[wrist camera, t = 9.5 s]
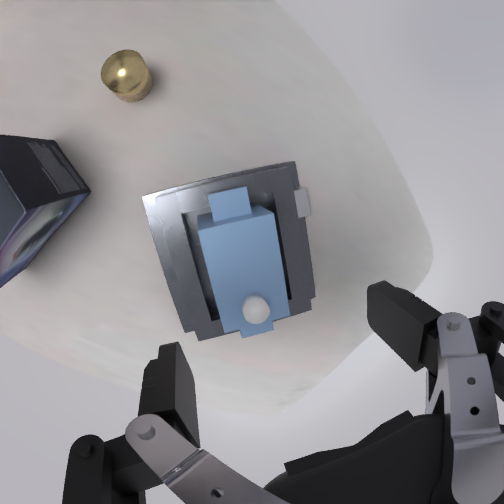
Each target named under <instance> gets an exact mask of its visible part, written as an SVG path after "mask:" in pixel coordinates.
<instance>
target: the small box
mask: <svg viewBox="0 0 504 504" xmlns="http://www.w3.org/2000/svg"><path fill="white" fill-rule="evenodd" d="M90 192H91V191H90V189H89V188H88V187H87V185H86V184H85V183H84V181H83V180H82V178H81V177H80V176H79V174H78V173H77V172H76V170H75V169H74V167H73V166H72V165H71V163H70V162H69V161H68V159H67V158H66V156H65V155H64V154H63V152H62V151H61V149H60V148H59V146H58V145H57V143H56V142H55V141H54V140H46V139H38V138H30V137H20V136H11V135H7V136H6V135H0V288H1V287H2V286H3V285H5V284H6V283H7V282H8V281H10V280H11V279H12V278H14V277H15V276H16V275H17V274H19V273H20V272H21V271H23V270H24V269H25V268H26V267H27V266H28V264H29V263H30V262H31V260H32V259H33V258H34V256H35V255H36V254H37V253H38V251H39V250H40V249H41V248H42V246H43V245H44V244H45V243H46V242H47V240H48V239H49V238H50V237H51V236H52V234H53V233H54V232H55V231H56V230H57V229H58V227H59V226H60V225H61V224H62V223H63V222H64V221H65V220H66V218H67V217H68V216H69V215H70V214H71V213H72V212H73V211H74V210H75V209H76V208H77V207H78V205H79V204H80V203H81V202H82V201H83V200H84V199H85V198H86V197H87V196H88V195H89V194H90Z"/></svg>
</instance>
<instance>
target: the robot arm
mask: <svg viewBox="0 0 504 504" xmlns="http://www.w3.org/2000/svg"><path fill="white" fill-rule="evenodd" d="M367 319H368V323H369V325H370V327H371V328H372V330H373V331H374V332H375V333H377V334H378V336H380V337H381V338H382V339H383V340H384V341H385V342H386V343H387V344H388V345H389V346H390V347H391V348H392V349H393V350H394V351H395V352H396V353H397V354H398V355H399V356H400V357H401V358H402V359H403V360H404V361H405V362H406V363H407V364H408V365H409V366H410V367H411V368H412V369H413V370H414V371H415V372H416V371H418V370H420V369H421V368H423V367H426V368H427V372H426V409H425V414H423V415H418V416H414V417H413V416H412V414H411V413H410V412H409V411H408V410H407V411H405V412H403V413H402V414H400V415H398V416H396V417H394V418H392V419H391V420H389V421H387V422H385V423H383V424H381V425H380V426H379V427H378V428H376V429H375V430H374V431H373V432H371V433H370V434H369V435H367V436H366V437H365V438H364V439H362V440H361V441H360V442H359V443H357V444H355V445H353V446H349V447H344V448H339V449H334V450H328V451H321V452H316V453H314V454H311V455H308V456H305V457H302V458H299V459H296V460H293V461H290V462H287V463H284V466H285V469H286V472H284V473H282V474H280V475H279V476H277V477H276V478H274V479H273V480H272V481H270V482H269V483H268V484H267V485H266V486H265V487H264V488H261V487H259V486H258V485H256V484H254V483H253V482H251V481H250V480H248V479H247V478H245V477H243V476H242V475H240V474H239V473H237V472H236V471H234V470H232V469H231V468H230V467H228V466H227V465H225V464H224V463H222V462H221V461H220V460H218V459H217V458H216V457H214V456H213V455H211V454H210V453H209V452H207V451H205V450H203V449H202V450H201V451H200V450H199V449H198V448H200V439H199V429H198V419H197V407H196V394H195V382H194V378H193V374H192V371H191V369H190V367H189V364H188V362H187V360H186V358H185V355H184V353H183V351H182V348H181V346H180V344H179V342H174V343H169V344H165V345H160V346H159V353H158V359H154V360H150V362H149V363H148V365H147V366H146V368H145V369H144V375H143V382H142V389H141V396H140V403H139V411H138V417H137V418H135V419H134V420H132V421H131V422H130V423H129V425H128V426H127V428H126V431H125V434H124V435H122V436H120V437H117V438H115V439H112V440H109V441H106V442H103V440H102V439H101V438H99V437H98V436H96V435H85V436H82V437H80V438H78V439H77V440H76V441H75V442H74V443H73V445H72V446H71V449H70V453H69V458H68V465H67V470H66V477H65V484H64V491H63V500H62V504H146V498H145V490H146V489H150V488H152V487H155V486H158V485H160V484H163V483H165V485H167V486H168V488H169V489H171V490H172V491H173V492H174V493H175V494H176V495H177V496H178V497H179V498H180V499H181V500H182V501H183V502H184V503H185V504H504V425H501V424H499V418H498V410H497V403H496V397H495V394H496V395H497V396H498V397H499V398H500V399H501V400H502V401H503V402H504V357H503V356H502V355H501V354H500V353H498V351H499V348H500V345H501V342H502V343H503V344H504V304H502V303H500V302H495V301H491V302H487V303H485V304H484V305H483V306H482V309H481V314H480V316H476V317H473V318H469V319H468V318H467V317H466V316H464V315H462V314H460V313H455V312H454V313H453V312H450V313H445V314H442V313H440V312H439V311H437V310H436V309H434V308H433V307H431V306H430V305H428V304H427V303H426V302H424V301H422V300H421V299H419V298H418V297H415V295H414V294H412V293H411V292H409V291H408V290H405V289H401V288H398V287H394V286H393V285H391V284H390V283H388V282H387V281H385V280H383V281H380V282H378V283H375V284H372V285H370V286H368V289H367Z"/></svg>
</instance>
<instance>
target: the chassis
mask: <svg viewBox="0 0 504 504" xmlns="http://www.w3.org/2000/svg"><path fill="white" fill-rule="evenodd" d="M244 186H246V187H247V192H248V197H249V202H250V203H254V202H255V203H257V204H258V205H260V206H262V207H264V208H265V209H267V210H269V211H271V212H272V213H274V218H275V224H276V230H277V236H278V242H279V248H280V254H281V260H282V266H283V272H284V279H285V285H286V291H287V298H288V305H289V311H290V316H293V315H296V314H300V313H303V312H306V311H309V310H312V309H311V301H310V299H311V298H314V297H316V296H315V288H314V280H313V272H312V264H311V257H310V250H309V243H308V236H307V229H306V223H305V216H309V215H311V212H310V205H309V199H308V193H307V188H302V187H299V181H298V175H297V170H296V165H295V161H291V162H286V163H280V164H275V165H270V166H264V167H259V168H254V169H250V170H245V171H240V172H235V173H231V174H226V175H222V176H218V177H213V178H209V179H205V180H201V181H197V182H193V183H189V184H185V185H181V186H177V187H174V188H170V189H166V190H163V191H159V192H155V193H152V194H148V195H145V196H142V199H143V202H144V206H145V210H146V214H147V218H148V221H149V225H150V228H151V232H152V235H153V239H154V242H155V246H156V249H157V252H158V256H159V259H160V262H161V265H162V268H163V271H164V275H165V278H166V281H167V284H168V287H169V290H170V293H171V296H172V298H173V301H174V304H175V307H176V310H177V313H178V315H179V318H180V321H181V324H182V326H183V329H184V332H185V333H187V332H191V331H195V333H196V335H197V338H198V341H202V340H206V339H210V338H214V337H218V336H222V335H226V334H230V333H233V332H237V331H240V330H236V331H232V332H228V333H225V332H224V329H223V325H222V322H221V318H220V315H219V311H218V307H217V304H216V300H215V296H214V293H213V289H212V285H211V282H210V278H209V274H208V270H207V266H206V262H205V258H204V254H203V250H202V246H201V242H200V238H199V234H198V227H197V215H201V214H206V213H210V212H211V207H210V203H209V198H208V194H212V193H216V192H221V191H225V190H230V189H234V188H239V187H244ZM290 316H287V317H290ZM287 317H284V318H287ZM280 319H283V318H280ZM280 319H277V320H280ZM277 320H273V321H277ZM273 321H272V322H273Z"/></svg>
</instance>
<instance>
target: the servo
mask: <svg viewBox="0 0 504 504" xmlns="http://www.w3.org/2000/svg"><path fill="white" fill-rule="evenodd" d="M208 198H209V203H210V207H211V212H210V213H206V214H201V215H197V227H198V234H199V238H200V242H201V246H202V250H203V254H204V258H205V262H206V266H207V270H208V274H209V278H210V282H211V285H212V289H213V293H214V296H215V300H216V304H217V307H218V311H219V315H220V318H221V322H222V325H223V329H224V332H225V333H228V332H232V331H236V330H240V333H241V337H242V338H245V337H249V336H252V335H256V334H260V333H264V332H267V331H271V330H274V329H273V324H272V321H273V320H277V319H280V318H284V317H287V316H290V311H289V305H288V298H287V291H286V285H285V279H284V272H283V266H282V260H281V254H280V248H279V242H278V236H277V230H276V224H275V218H274V213H272V212H271V211H269V210H267V209H265V208H264V207H262V206H260V205H258V204H257V203H255V202H254V203H250V202H249V197H248V192H247V187H246V186H244V187H239V188H234V189H230V190H225V191H221V192H216V193H212V194H208Z"/></svg>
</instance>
